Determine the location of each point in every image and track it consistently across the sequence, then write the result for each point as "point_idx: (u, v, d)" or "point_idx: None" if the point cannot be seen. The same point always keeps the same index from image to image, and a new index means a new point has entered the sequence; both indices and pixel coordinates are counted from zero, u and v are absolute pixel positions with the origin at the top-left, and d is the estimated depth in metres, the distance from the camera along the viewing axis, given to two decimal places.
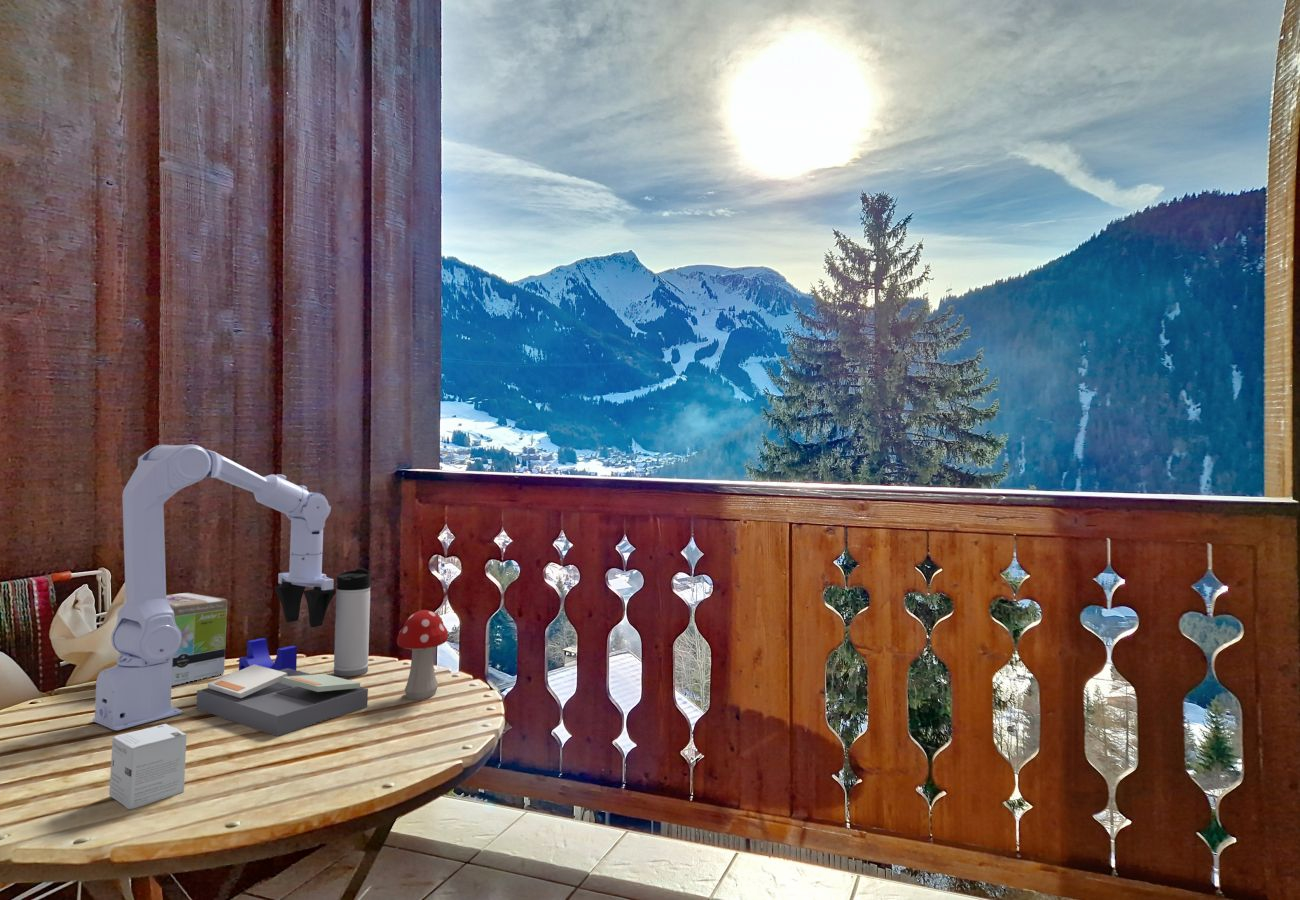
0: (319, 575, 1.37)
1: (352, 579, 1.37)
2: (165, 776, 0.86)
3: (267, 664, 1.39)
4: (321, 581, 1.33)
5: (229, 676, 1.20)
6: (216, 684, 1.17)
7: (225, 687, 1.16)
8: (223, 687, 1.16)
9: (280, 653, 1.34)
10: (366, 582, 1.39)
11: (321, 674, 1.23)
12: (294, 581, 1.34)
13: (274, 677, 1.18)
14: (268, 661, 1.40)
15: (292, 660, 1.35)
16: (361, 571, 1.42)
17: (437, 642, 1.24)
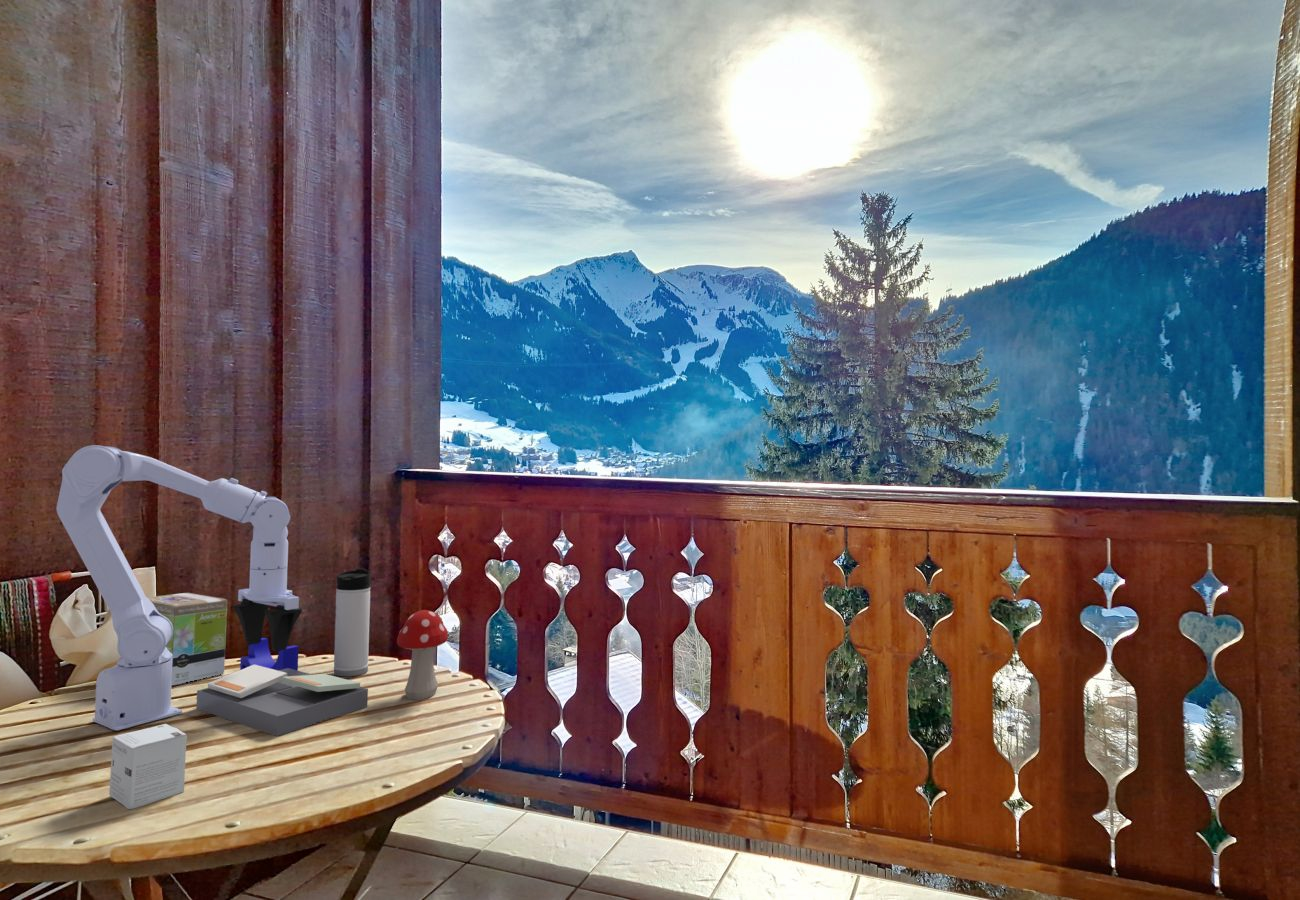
0: (283, 592, 1.22)
1: (352, 579, 1.37)
2: (165, 776, 0.86)
3: (268, 663, 1.39)
4: (284, 599, 1.18)
5: (229, 676, 1.20)
6: (216, 684, 1.17)
7: (225, 687, 1.16)
8: (223, 687, 1.16)
9: (282, 653, 1.34)
10: (366, 582, 1.39)
11: (321, 674, 1.23)
12: (254, 599, 1.19)
13: (274, 677, 1.18)
14: (269, 661, 1.40)
15: (294, 659, 1.36)
16: (361, 571, 1.42)
17: (437, 642, 1.24)
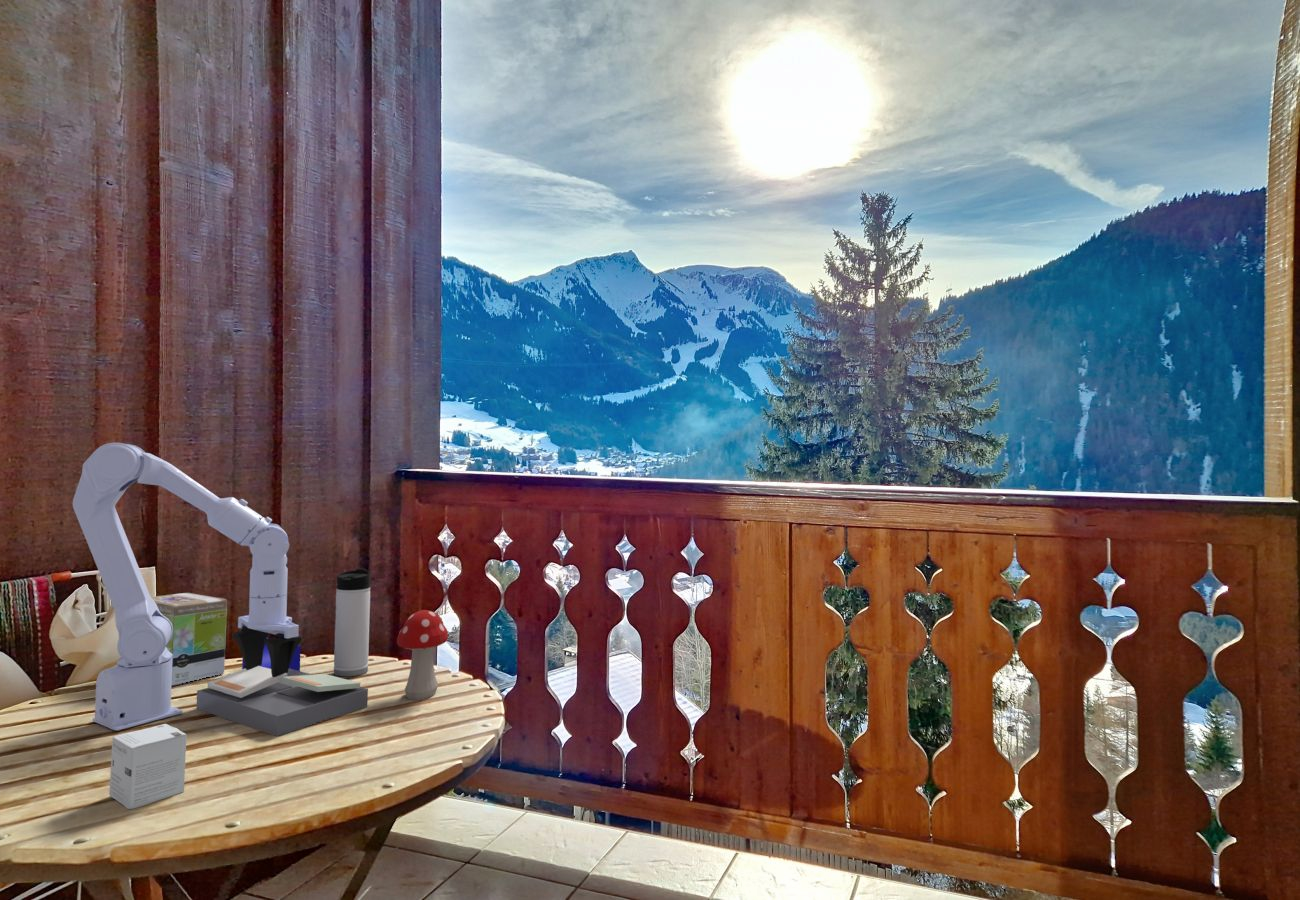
0: (283, 619, 1.21)
1: (352, 579, 1.37)
2: (165, 776, 0.86)
3: (270, 663, 1.39)
4: (284, 628, 1.18)
5: (229, 676, 1.20)
6: (216, 684, 1.17)
7: (225, 686, 1.16)
8: (223, 687, 1.16)
9: None
10: (366, 582, 1.39)
11: (321, 674, 1.23)
12: (254, 628, 1.19)
13: (274, 677, 1.18)
14: None
15: (296, 658, 1.36)
16: (361, 571, 1.42)
17: (437, 642, 1.24)
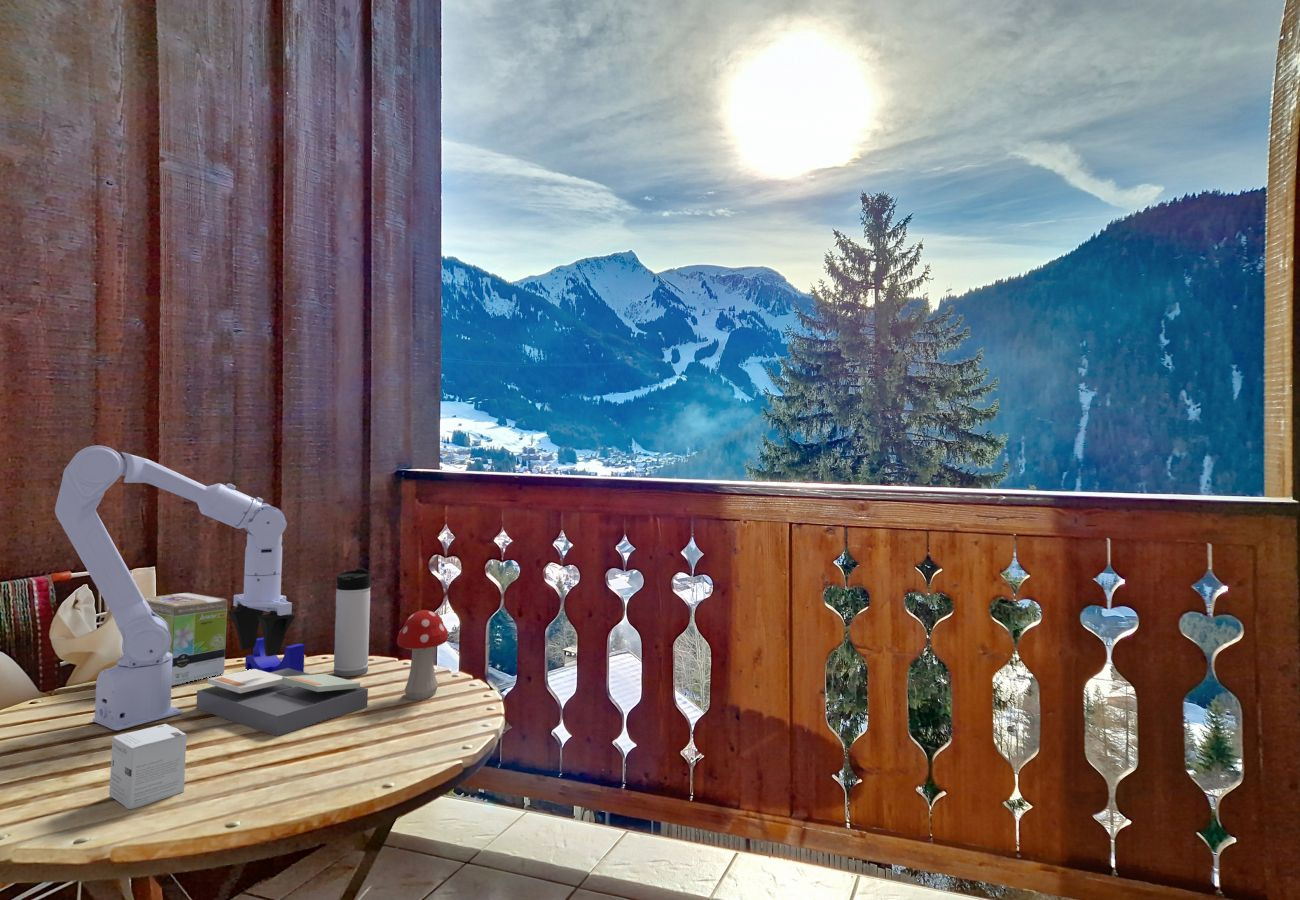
0: (277, 598, 1.23)
1: (352, 579, 1.37)
2: (165, 776, 0.86)
3: (273, 662, 1.40)
4: (277, 605, 1.19)
5: (229, 675, 1.20)
6: (216, 679, 1.17)
7: (226, 682, 1.16)
8: (223, 682, 1.16)
9: (288, 651, 1.35)
10: (366, 582, 1.39)
11: (321, 674, 1.23)
12: (248, 605, 1.20)
13: (275, 679, 1.18)
14: (274, 659, 1.41)
15: (300, 657, 1.37)
16: (361, 571, 1.42)
17: (437, 642, 1.24)
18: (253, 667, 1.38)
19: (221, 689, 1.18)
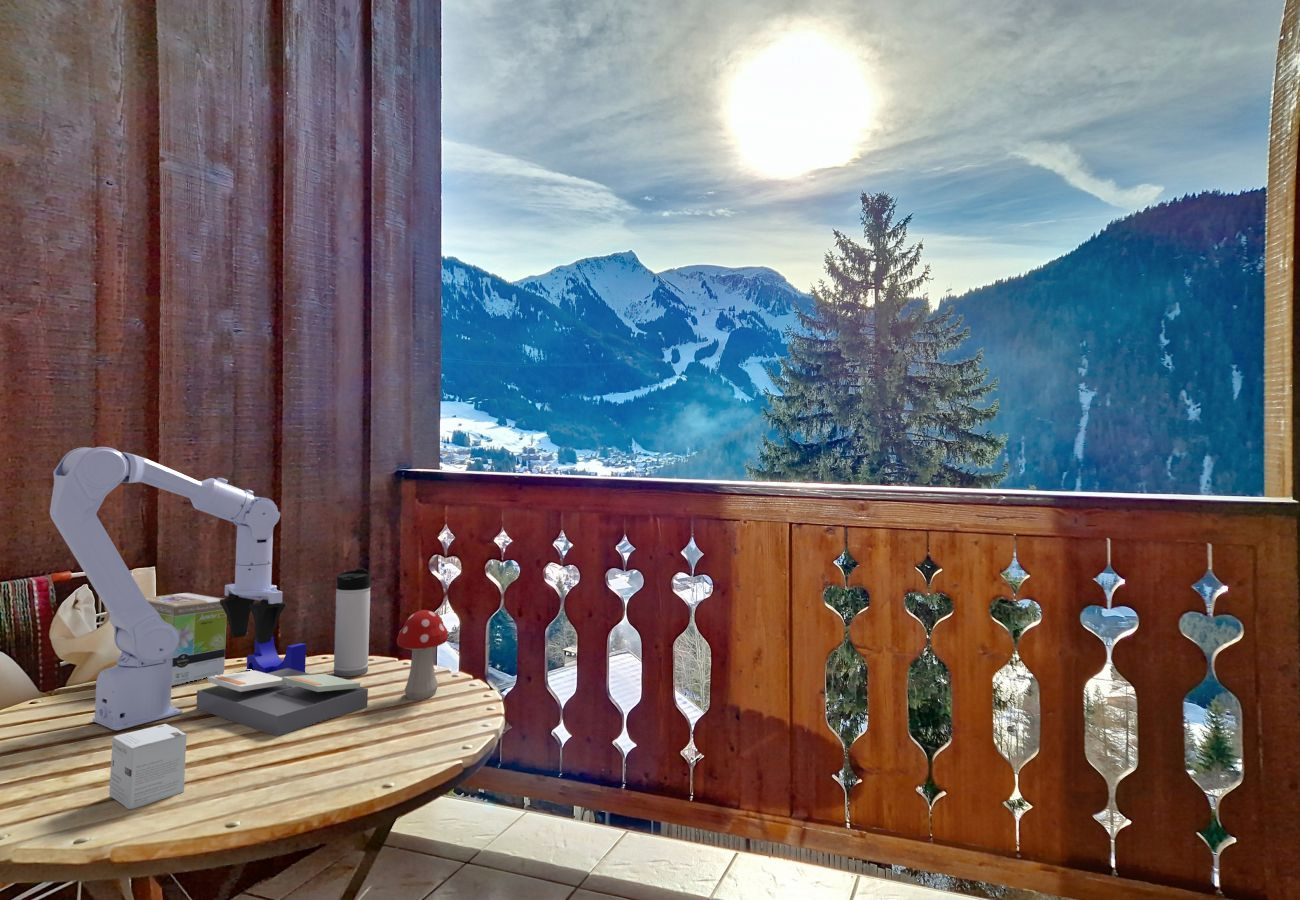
0: (268, 587, 1.26)
1: (352, 579, 1.37)
2: (165, 776, 0.86)
3: (275, 661, 1.40)
4: (268, 594, 1.22)
5: (230, 675, 1.20)
6: (217, 678, 1.17)
7: (226, 681, 1.16)
8: (224, 681, 1.16)
9: (290, 650, 1.36)
10: (366, 582, 1.39)
11: (321, 674, 1.23)
12: (239, 594, 1.24)
13: (275, 680, 1.18)
14: (276, 658, 1.41)
15: (301, 657, 1.37)
16: (361, 571, 1.42)
17: (437, 642, 1.24)
18: (254, 667, 1.39)
19: (221, 689, 1.18)
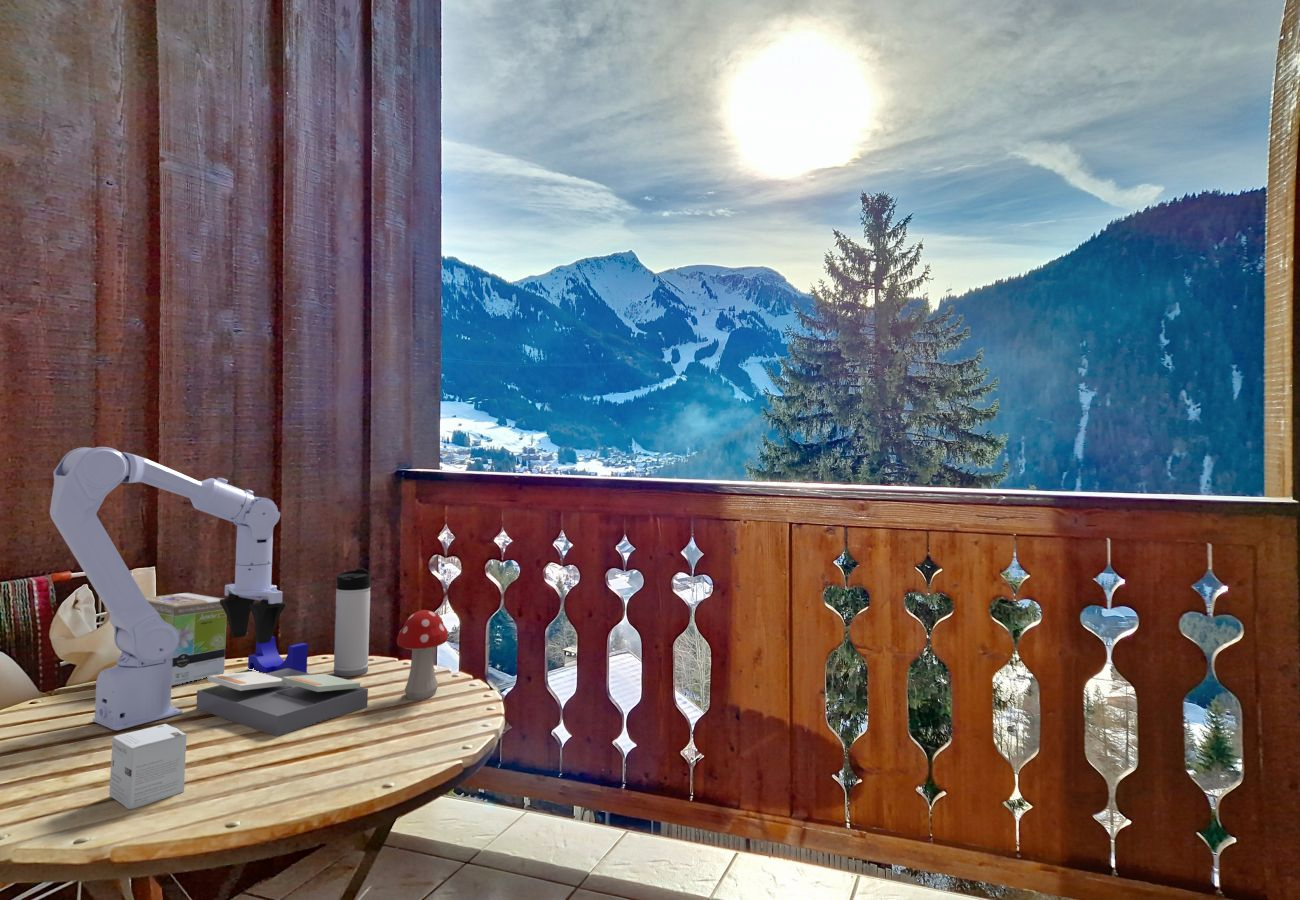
0: (268, 587, 1.26)
1: (352, 579, 1.37)
2: (165, 776, 0.86)
3: (276, 661, 1.41)
4: (268, 594, 1.22)
5: (230, 674, 1.20)
6: (217, 677, 1.17)
7: (226, 680, 1.16)
8: (224, 680, 1.16)
9: (292, 650, 1.36)
10: (366, 582, 1.39)
11: (321, 674, 1.23)
12: (239, 594, 1.24)
13: (275, 681, 1.18)
14: (277, 658, 1.42)
15: (303, 657, 1.38)
16: (361, 571, 1.42)
17: (437, 642, 1.24)
18: (256, 666, 1.39)
19: (221, 689, 1.18)
